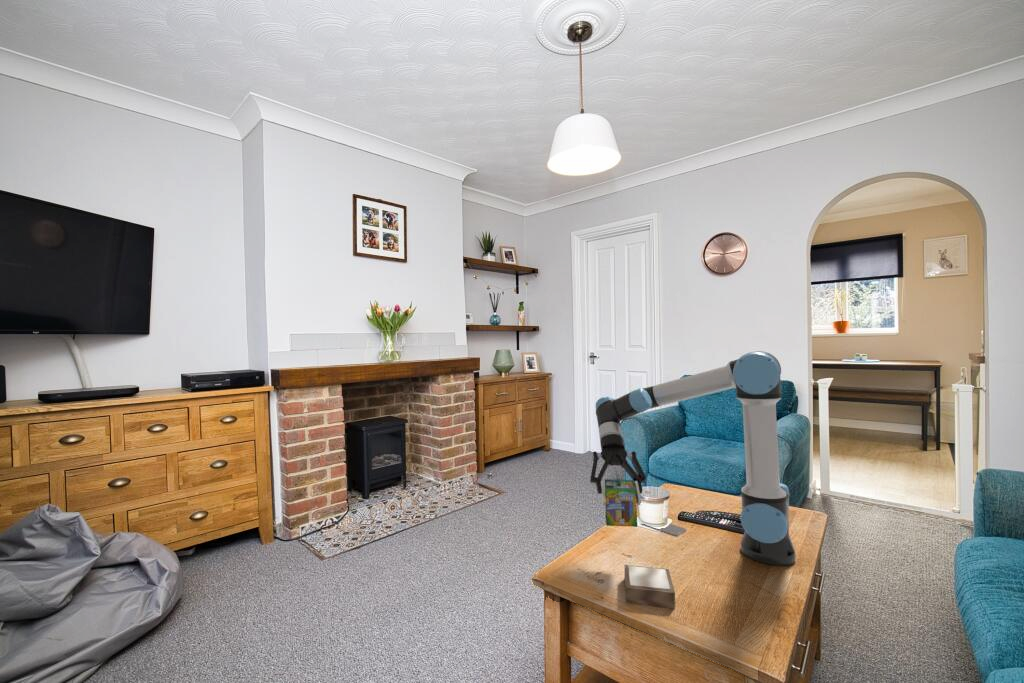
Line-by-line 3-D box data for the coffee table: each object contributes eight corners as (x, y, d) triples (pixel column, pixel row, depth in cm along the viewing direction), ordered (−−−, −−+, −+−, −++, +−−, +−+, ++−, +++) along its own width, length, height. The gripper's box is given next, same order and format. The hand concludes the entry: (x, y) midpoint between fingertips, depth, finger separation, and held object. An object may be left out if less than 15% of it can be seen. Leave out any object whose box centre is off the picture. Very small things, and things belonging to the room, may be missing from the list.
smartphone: (649, 517, 172) (687, 528, 161) (649, 519, 172) (687, 531, 161) (639, 522, 167) (677, 534, 156) (639, 524, 167) (677, 537, 156)
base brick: (668, 583, 126) (668, 568, 126) (674, 608, 114) (674, 591, 114) (624, 578, 129) (624, 563, 128) (626, 602, 117) (626, 586, 117)
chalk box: (637, 528, 132) (636, 477, 132) (605, 526, 134) (605, 476, 134) (634, 515, 141) (634, 468, 141) (605, 514, 143) (604, 467, 143)
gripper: (643, 444, 152) (657, 508, 137) (576, 445, 153) (583, 508, 137) (647, 432, 147) (662, 497, 131) (578, 432, 148) (585, 497, 132)
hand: (621, 503), depth 134 cm, fingers closed on chalk box, 10 cm apart
